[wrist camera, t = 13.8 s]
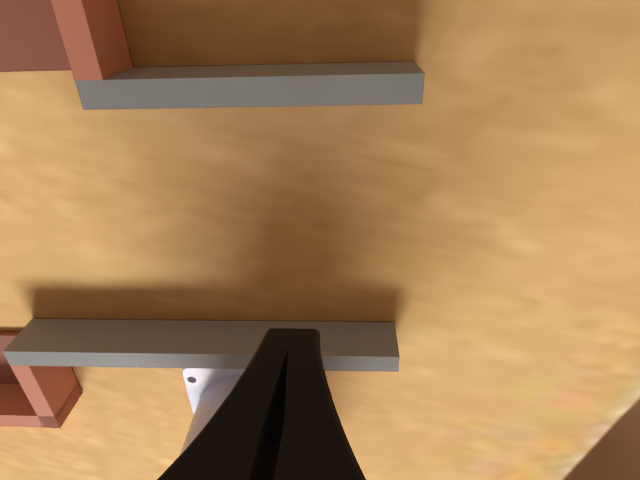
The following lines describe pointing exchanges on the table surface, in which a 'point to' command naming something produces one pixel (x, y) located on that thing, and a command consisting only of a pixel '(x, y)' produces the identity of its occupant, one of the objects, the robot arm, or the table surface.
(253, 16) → the table surface
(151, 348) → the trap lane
